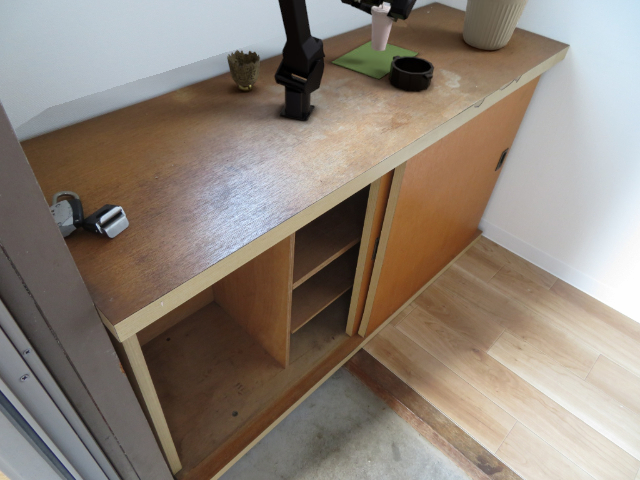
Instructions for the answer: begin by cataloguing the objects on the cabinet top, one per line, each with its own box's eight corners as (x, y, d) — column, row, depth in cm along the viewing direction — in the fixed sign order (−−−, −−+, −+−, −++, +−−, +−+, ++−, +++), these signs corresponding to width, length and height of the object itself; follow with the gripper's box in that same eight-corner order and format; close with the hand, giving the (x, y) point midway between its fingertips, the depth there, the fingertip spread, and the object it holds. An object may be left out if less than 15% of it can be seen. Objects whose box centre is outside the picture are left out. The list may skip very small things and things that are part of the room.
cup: (264, 83, 108) (262, 51, 103) (258, 97, 103) (256, 64, 98) (234, 81, 109) (231, 48, 103) (227, 95, 104) (223, 61, 98)
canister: (452, 50, 129) (473, -32, 114) (454, 29, 142) (473, -47, 127) (516, 59, 127) (546, -23, 112) (511, 37, 139) (538, -40, 124)
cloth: (379, 79, 113) (379, 78, 113) (331, 63, 119) (331, 61, 119) (418, 54, 126) (418, 52, 126) (373, 40, 132) (373, 39, 132)
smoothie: (361, 46, 117) (368, -12, 107) (378, 42, 120) (386, -16, 111) (378, 54, 114) (386, -5, 104) (395, 49, 117) (405, -9, 107)
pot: (410, 97, 107) (414, 79, 104) (377, 75, 115) (379, 58, 112) (441, 88, 111) (446, 71, 108) (407, 68, 119) (411, 51, 116)
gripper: (423, -50, 94) (433, -4, 108) (350, -65, 101) (368, -20, 116) (398, -2, 95) (412, 38, 109) (328, -20, 102) (349, 19, 117)
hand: (385, 17), depth 113 cm, fingers closed on smoothie, 6 cm apart
